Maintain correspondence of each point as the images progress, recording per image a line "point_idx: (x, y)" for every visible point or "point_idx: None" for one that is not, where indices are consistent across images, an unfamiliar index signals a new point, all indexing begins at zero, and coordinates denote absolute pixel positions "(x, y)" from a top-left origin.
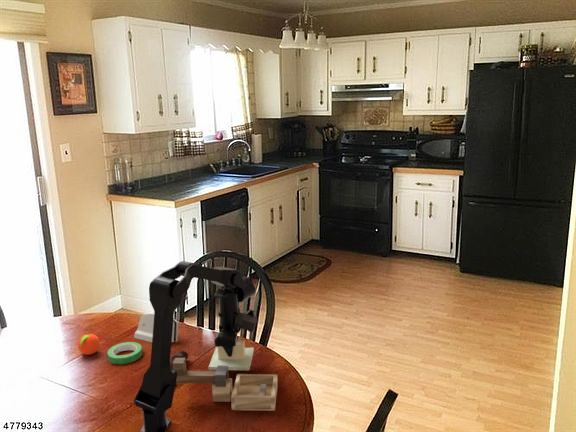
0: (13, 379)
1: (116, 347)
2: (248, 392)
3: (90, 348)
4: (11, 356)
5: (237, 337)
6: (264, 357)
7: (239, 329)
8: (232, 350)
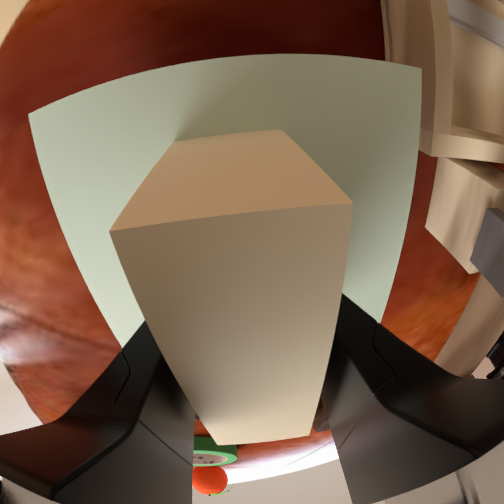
0: (292, 470)
1: (195, 463)
2: (460, 79)
3: (222, 477)
4: (237, 481)
5: (497, 443)
6: (34, 64)
7: (42, 496)
8: (350, 302)
